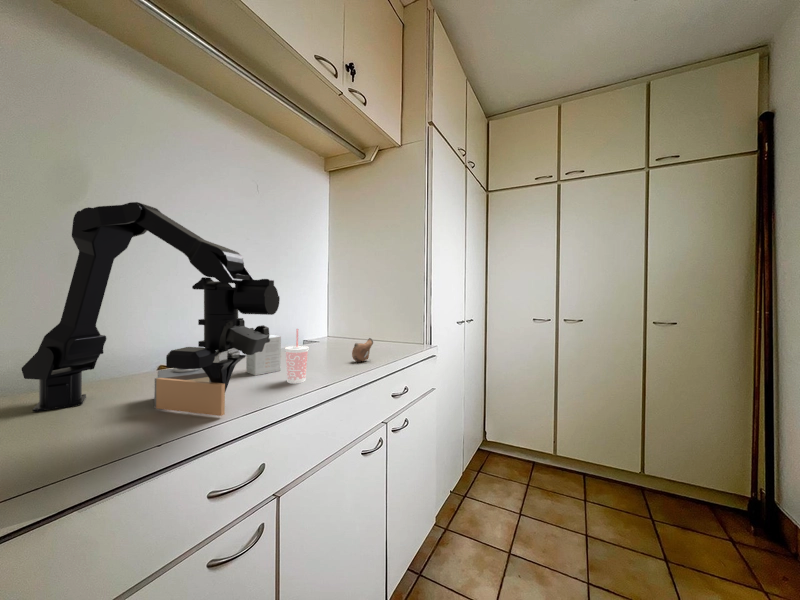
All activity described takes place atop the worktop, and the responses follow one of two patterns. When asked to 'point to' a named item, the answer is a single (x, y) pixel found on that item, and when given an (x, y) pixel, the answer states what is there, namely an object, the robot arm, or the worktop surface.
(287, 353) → the beverage cup
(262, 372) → the small box
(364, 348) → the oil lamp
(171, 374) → the camera housing
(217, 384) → the side door
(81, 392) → the robot arm
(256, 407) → the worktop surface
